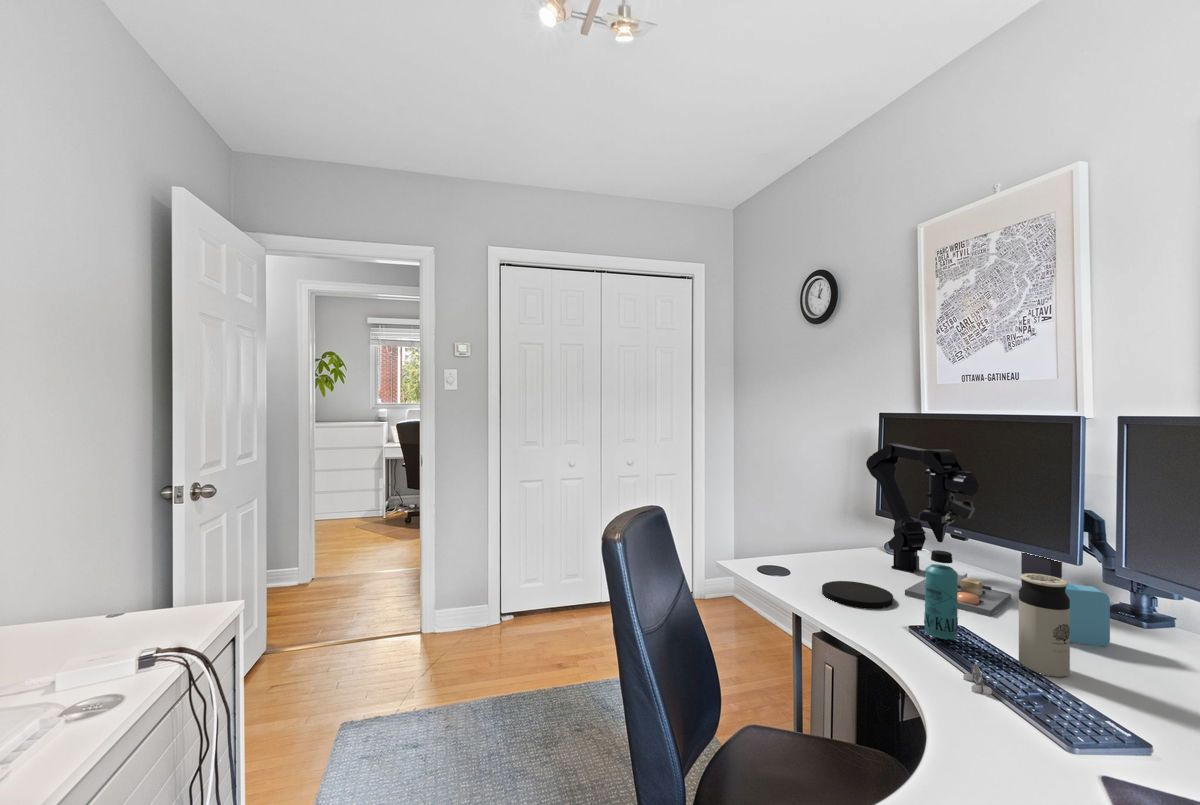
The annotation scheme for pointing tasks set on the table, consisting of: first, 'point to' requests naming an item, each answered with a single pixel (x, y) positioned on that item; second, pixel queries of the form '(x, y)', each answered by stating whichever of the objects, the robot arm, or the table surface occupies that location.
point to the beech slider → (971, 586)
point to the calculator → (1040, 566)
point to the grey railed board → (987, 604)
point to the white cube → (961, 577)
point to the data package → (1089, 615)
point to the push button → (968, 598)
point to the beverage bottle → (941, 597)
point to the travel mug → (1044, 625)
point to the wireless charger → (857, 594)
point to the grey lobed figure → (977, 680)
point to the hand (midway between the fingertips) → (940, 542)
